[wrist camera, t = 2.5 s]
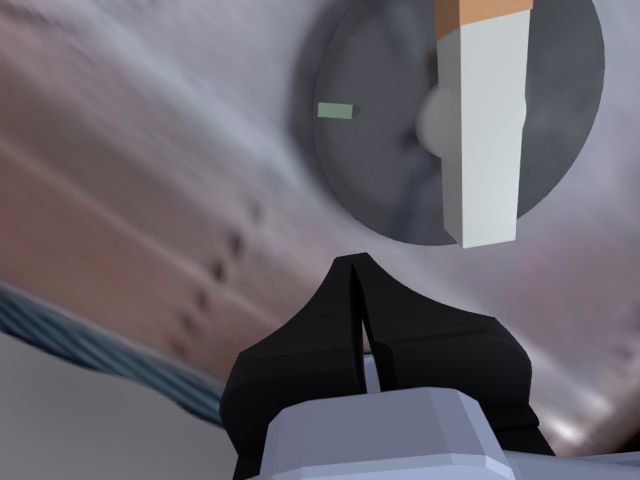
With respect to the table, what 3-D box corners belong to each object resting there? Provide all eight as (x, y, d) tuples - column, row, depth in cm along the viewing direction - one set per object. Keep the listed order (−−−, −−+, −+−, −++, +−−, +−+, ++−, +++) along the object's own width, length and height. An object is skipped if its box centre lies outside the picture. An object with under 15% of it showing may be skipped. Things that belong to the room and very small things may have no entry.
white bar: (489, 209, 18) (533, 237, 14) (421, 220, 18) (446, 251, 15) (495, -21, 14) (562, -72, 10) (406, 1, 14) (436, -39, 10)
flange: (563, 215, 20) (583, 224, 18) (337, 253, 21) (338, 264, 20) (604, -90, 14) (639, -115, 12) (286, -7, 15) (281, -20, 14)
